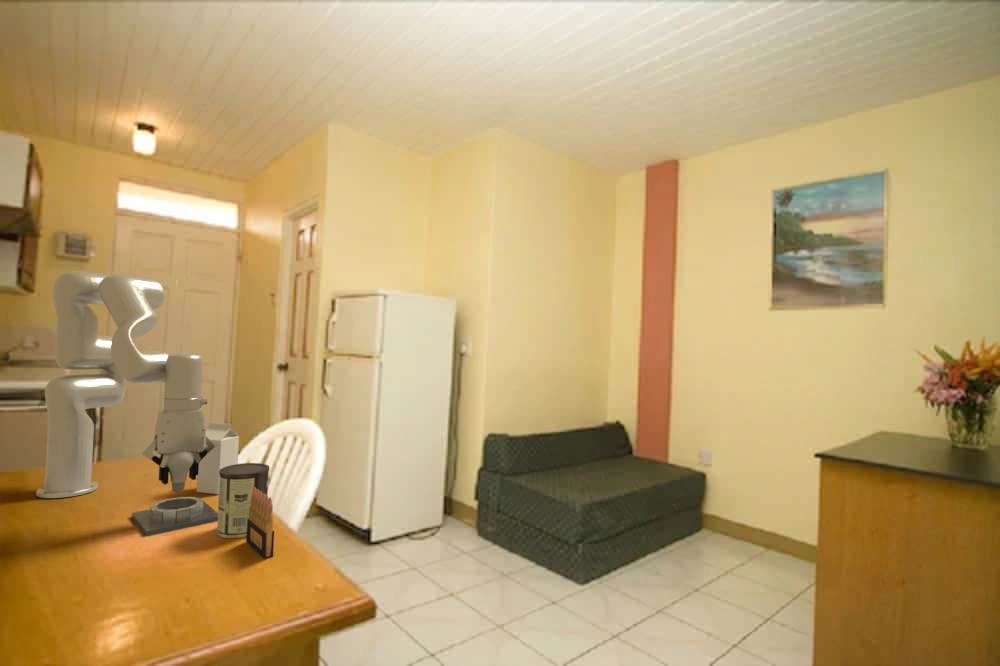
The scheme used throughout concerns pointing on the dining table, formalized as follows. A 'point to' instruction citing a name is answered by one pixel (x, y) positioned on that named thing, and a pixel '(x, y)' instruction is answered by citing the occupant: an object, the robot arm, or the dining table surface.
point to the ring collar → (174, 515)
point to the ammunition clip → (261, 524)
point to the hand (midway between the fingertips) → (178, 480)
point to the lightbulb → (179, 468)
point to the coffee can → (238, 496)
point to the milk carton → (217, 456)
